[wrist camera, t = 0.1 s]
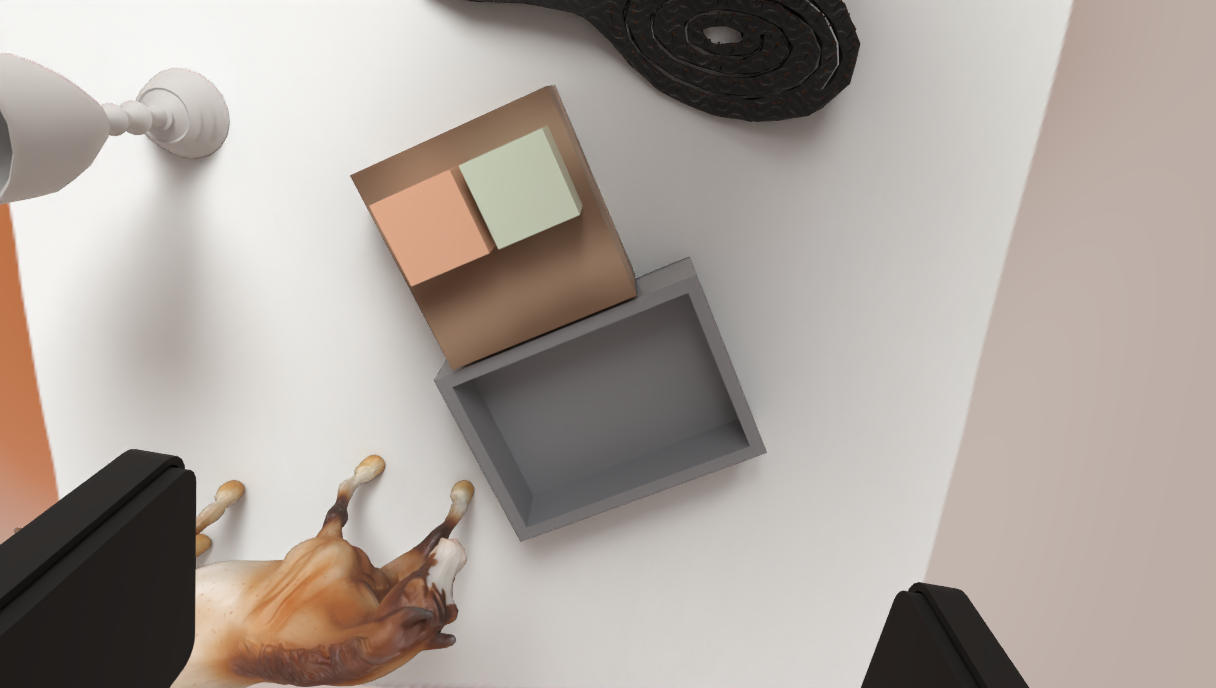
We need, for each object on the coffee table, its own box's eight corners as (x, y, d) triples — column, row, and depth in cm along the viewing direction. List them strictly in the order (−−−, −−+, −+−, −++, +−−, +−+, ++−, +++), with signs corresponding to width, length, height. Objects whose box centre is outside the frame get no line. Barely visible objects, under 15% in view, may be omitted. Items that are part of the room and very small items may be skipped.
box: (450, 354, 48) (433, 380, 44) (689, 256, 46) (696, 274, 42) (528, 504, 52) (520, 541, 48) (754, 420, 50) (766, 452, 45)
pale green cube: (469, 159, 39) (458, 165, 37) (547, 125, 39) (542, 128, 36) (507, 237, 41) (498, 249, 38) (582, 205, 40) (579, 214, 37)
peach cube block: (386, 196, 40) (368, 205, 37) (461, 163, 40) (449, 169, 37) (425, 272, 42) (411, 286, 39) (498, 241, 41) (489, 253, 38)
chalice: (142, 179, 45) (-146, 239, 28) (106, 59, 43) (-232, 45, 26) (261, 166, 45) (41, 218, 28) (230, 44, 42) (-30, 19, 25)
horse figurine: (511, 406, 50) (442, 615, 30) (537, 506, 52) (488, 759, 33) (75, 480, 52) (-249, 719, 33) (120, 573, 54) (-157, 846, 35)
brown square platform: (378, 165, 45) (350, 175, 40) (555, 85, 43) (546, 86, 38) (468, 341, 48) (452, 369, 43) (634, 273, 46) (636, 295, 42)
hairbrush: (403, -147, 37) (889, -18, 38) (425, -128, 41) (870, -10, 41) (380, 29, 40) (833, 147, 40) (403, 33, 43) (819, 142, 44)
